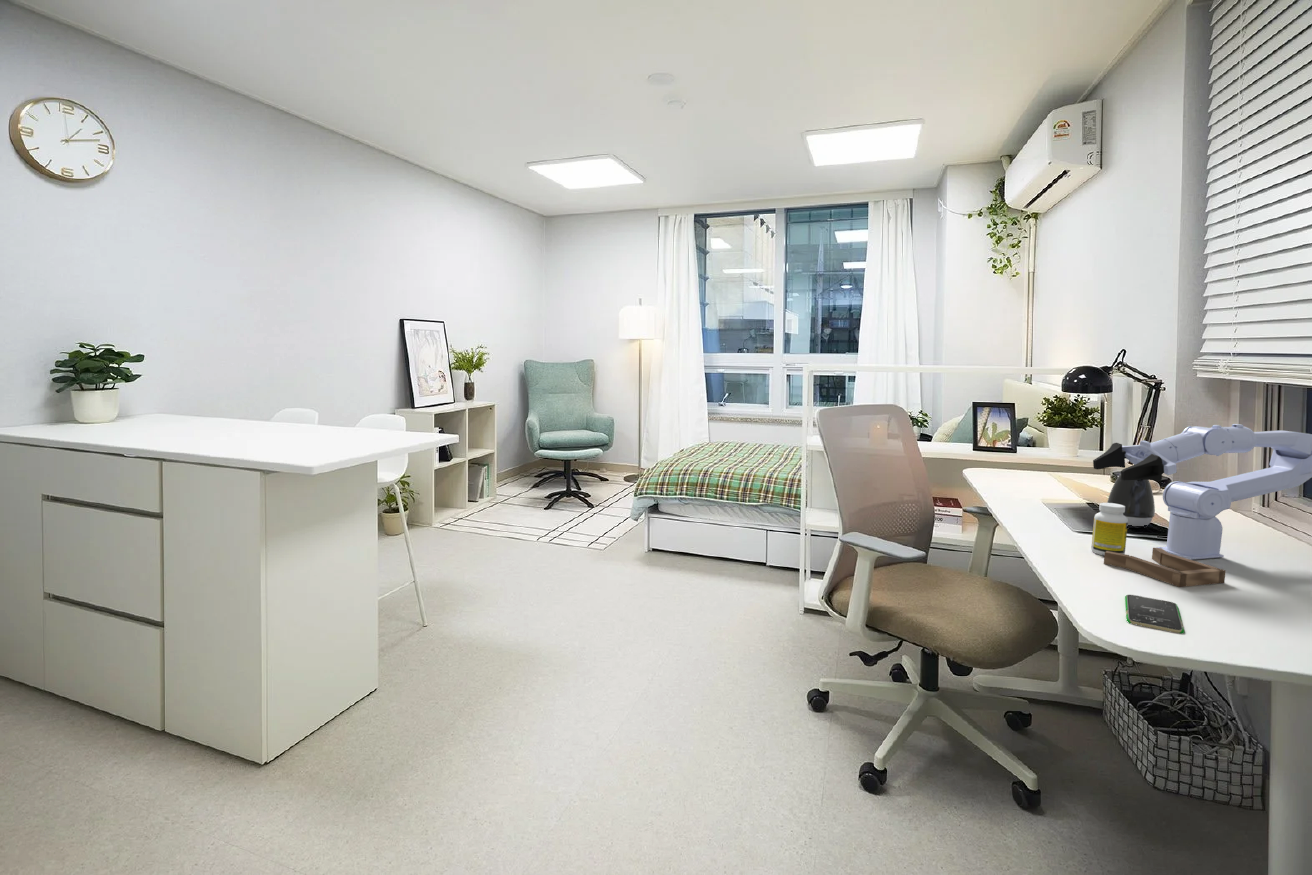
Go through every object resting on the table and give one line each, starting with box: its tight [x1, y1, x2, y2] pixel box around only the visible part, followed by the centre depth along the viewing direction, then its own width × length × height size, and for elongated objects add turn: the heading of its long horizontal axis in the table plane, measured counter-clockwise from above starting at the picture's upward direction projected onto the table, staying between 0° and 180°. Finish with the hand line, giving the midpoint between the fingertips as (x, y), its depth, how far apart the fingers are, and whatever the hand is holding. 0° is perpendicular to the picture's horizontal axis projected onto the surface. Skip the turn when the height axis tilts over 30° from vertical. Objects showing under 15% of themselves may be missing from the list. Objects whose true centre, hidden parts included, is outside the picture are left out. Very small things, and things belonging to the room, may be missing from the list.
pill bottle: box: [1091, 502, 1128, 556], centre depth 146 cm, size 6×6×11 cm
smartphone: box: [1124, 594, 1185, 634], centre depth 113 cm, size 8×1×15 cm
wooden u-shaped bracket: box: [1103, 547, 1227, 588], centre depth 135 cm, size 15×15×2 cm
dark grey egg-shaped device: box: [1106, 473, 1156, 526], centre depth 169 cm, size 10×10×15 cm
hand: (1108, 470), depth 143 cm, fingers open, 7 cm apart
